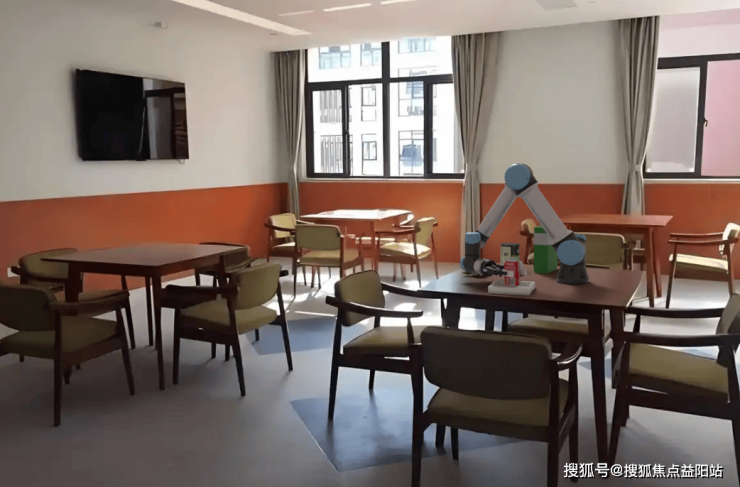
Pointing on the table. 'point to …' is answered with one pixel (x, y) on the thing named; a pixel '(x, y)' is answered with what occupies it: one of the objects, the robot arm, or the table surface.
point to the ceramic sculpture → (471, 273)
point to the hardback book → (543, 252)
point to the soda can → (514, 266)
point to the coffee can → (509, 251)
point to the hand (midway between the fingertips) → (519, 273)
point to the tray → (511, 288)
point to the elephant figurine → (521, 264)
